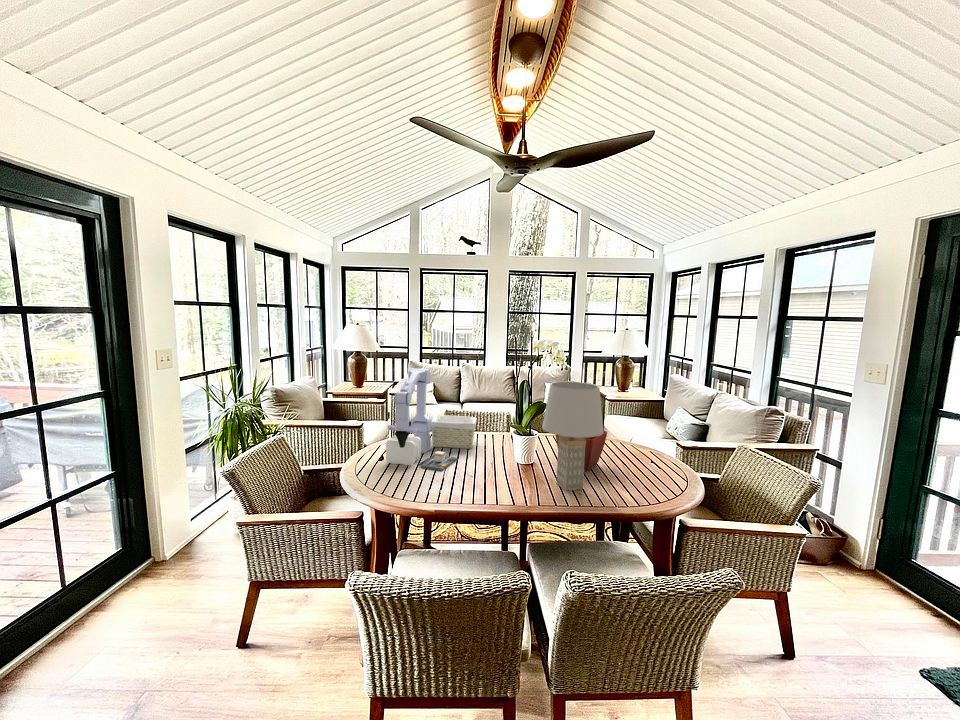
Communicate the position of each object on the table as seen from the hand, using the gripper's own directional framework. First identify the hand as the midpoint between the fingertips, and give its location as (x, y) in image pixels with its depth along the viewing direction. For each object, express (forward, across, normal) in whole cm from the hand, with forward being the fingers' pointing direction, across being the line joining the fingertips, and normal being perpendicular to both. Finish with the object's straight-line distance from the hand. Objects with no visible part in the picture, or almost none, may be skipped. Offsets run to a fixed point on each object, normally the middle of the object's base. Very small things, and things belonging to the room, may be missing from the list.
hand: (402, 447), depth 198 cm
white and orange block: (+9, +12, +14) cm, 21 cm away
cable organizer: (+11, -5, +9) cm, 15 cm away
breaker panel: (+10, +12, +14) cm, 21 cm away
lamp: (+11, +74, +14) cm, 76 cm away
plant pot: (+11, +74, +43) cm, 86 cm away
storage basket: (+11, +5, +45) cm, 47 cm away
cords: (+10, +5, +15) cm, 19 cm away
